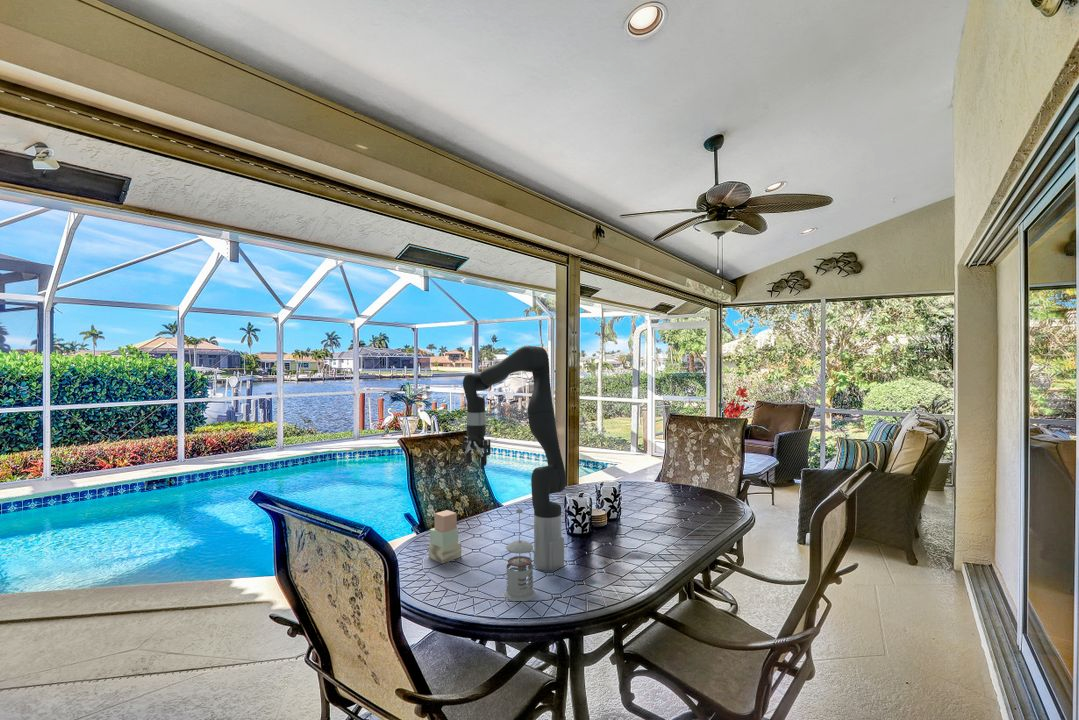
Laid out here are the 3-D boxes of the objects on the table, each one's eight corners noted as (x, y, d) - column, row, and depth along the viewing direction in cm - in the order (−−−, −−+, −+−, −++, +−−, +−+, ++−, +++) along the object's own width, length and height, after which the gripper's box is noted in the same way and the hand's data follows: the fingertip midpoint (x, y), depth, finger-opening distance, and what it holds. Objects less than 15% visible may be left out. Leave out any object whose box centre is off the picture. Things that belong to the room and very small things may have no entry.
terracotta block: (456, 528, 172) (456, 513, 172) (443, 532, 168) (443, 516, 168) (447, 525, 176) (447, 510, 176) (434, 529, 172) (434, 513, 172)
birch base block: (461, 556, 172) (461, 542, 172) (442, 563, 166) (442, 549, 166) (447, 551, 178) (447, 537, 178) (429, 557, 172) (428, 543, 172)
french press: (496, 596, 143) (495, 510, 143) (519, 581, 152) (519, 500, 152) (523, 605, 137) (523, 515, 137) (546, 589, 147) (545, 505, 147)
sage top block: (458, 542, 173) (458, 528, 173) (442, 548, 167) (442, 533, 167) (445, 538, 177) (445, 524, 177) (429, 543, 172) (429, 529, 172)
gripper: (495, 424, 192) (495, 465, 191) (471, 421, 201) (471, 460, 201) (481, 425, 186) (481, 468, 186) (457, 423, 195) (457, 463, 195)
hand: (476, 464), depth 193 cm, fingers open, 8 cm apart
